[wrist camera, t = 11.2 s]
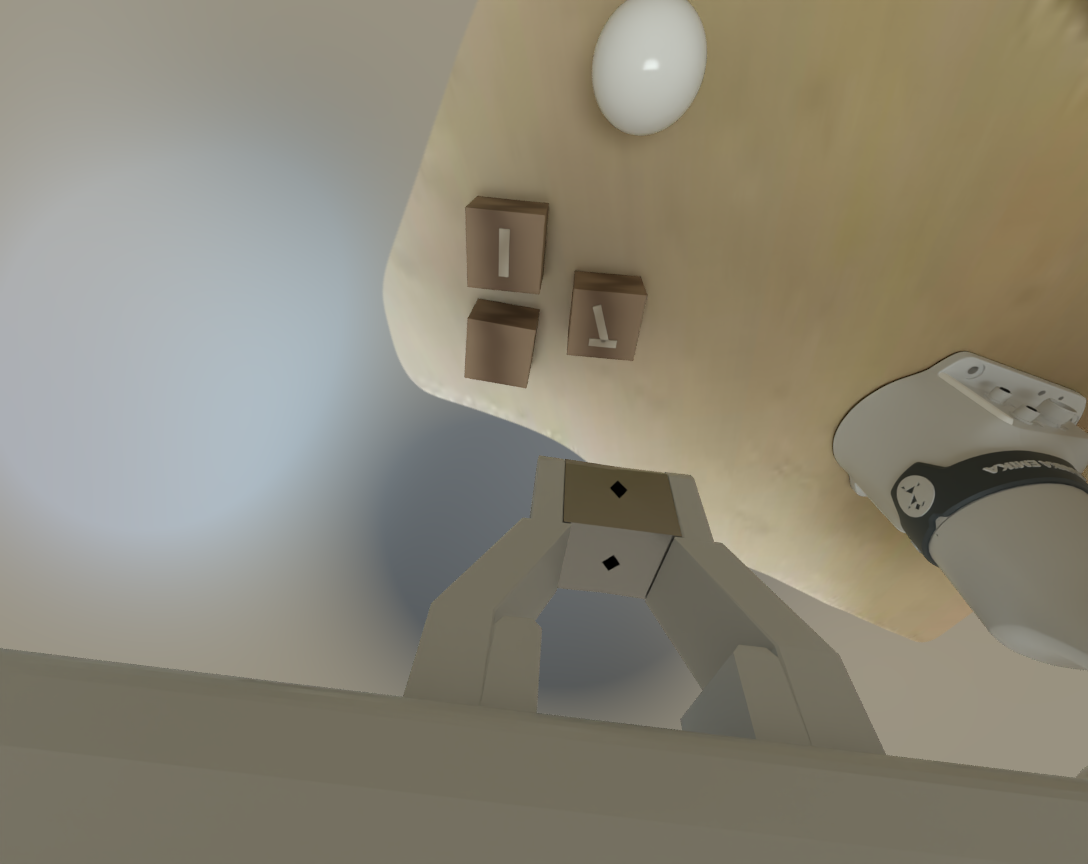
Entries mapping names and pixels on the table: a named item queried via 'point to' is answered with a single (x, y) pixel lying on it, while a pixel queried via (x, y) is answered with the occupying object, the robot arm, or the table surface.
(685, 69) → the lightbulb
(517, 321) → the plain block
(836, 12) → the table surface
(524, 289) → the numbered block 1
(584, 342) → the numbered block 7
